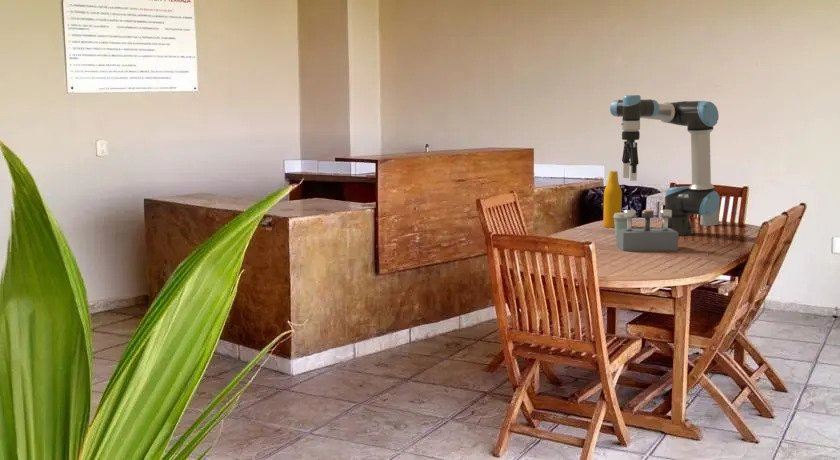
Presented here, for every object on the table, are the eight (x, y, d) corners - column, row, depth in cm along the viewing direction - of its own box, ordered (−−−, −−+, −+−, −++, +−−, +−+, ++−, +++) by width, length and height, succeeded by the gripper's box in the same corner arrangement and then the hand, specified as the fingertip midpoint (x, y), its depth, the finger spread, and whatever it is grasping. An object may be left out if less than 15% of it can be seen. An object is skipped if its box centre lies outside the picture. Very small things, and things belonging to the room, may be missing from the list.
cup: (720, 225, 454) (721, 203, 453) (703, 226, 454) (704, 203, 453) (715, 223, 463) (716, 201, 462) (698, 223, 463) (698, 201, 462)
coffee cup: (631, 239, 412) (632, 214, 410) (613, 239, 414) (613, 214, 412) (630, 236, 420) (631, 212, 419) (612, 236, 422) (613, 212, 420)
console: (669, 245, 393) (670, 228, 392) (677, 250, 382) (678, 232, 380) (616, 246, 393) (617, 228, 392) (623, 250, 381) (623, 232, 380)
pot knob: (651, 235, 389) (652, 209, 387) (654, 236, 384) (655, 211, 383) (640, 235, 389) (640, 209, 387) (643, 237, 384) (643, 211, 383)
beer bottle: (599, 226, 458) (600, 171, 454) (614, 224, 462) (615, 170, 458) (610, 228, 450) (611, 172, 446) (624, 227, 453) (626, 171, 449)
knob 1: (633, 235, 389) (634, 209, 387) (636, 237, 384) (636, 211, 382) (622, 235, 389) (622, 210, 387) (624, 237, 384) (625, 211, 382)
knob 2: (669, 235, 389) (669, 209, 388) (672, 236, 384) (673, 210, 383) (658, 235, 389) (658, 209, 387) (661, 236, 384) (661, 211, 383)
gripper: (616, 129, 393) (614, 176, 396) (628, 131, 368) (627, 181, 371) (632, 129, 393) (631, 176, 396) (646, 131, 368) (645, 181, 371)
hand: (629, 179), depth 383 cm, fingers open, 13 cm apart
